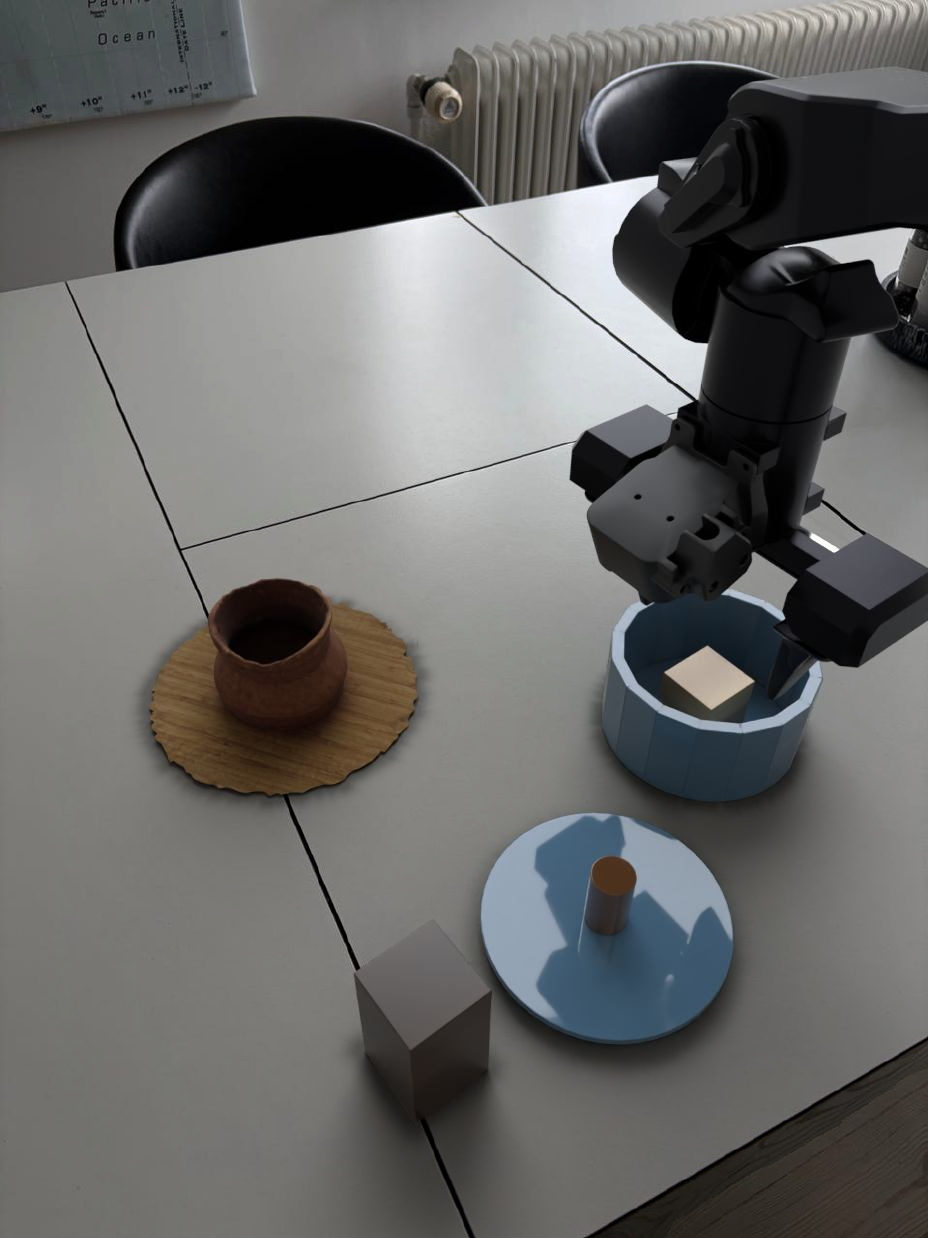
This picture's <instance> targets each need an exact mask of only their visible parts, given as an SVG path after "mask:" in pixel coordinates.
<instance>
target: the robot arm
mask: <svg viewBox="0 0 928 1238" xmlns="http://www.w3.org/2000/svg"><path fill="white" fill-rule="evenodd" d="M726 105H727V106H726V107H727V110H728V113H727V115H726V117H725V120H724V121H722V122H721V124H719V126H717V128H716V129H714V131H713V133H712V135H711V136H710V138H709V139H708V141H707V142H706V143H705V145H704V147H703V149H702V150H701V152H700V153H699V155H698V156H697V157H696V156H695V157H690V158H689V157H688V158H682V159H673V160H666V161H661V163H660V164H659V166H658V176H657V183H656V187H654V188H652V189H651V190H650V191H648V192H647V193H646V194H644V195H643V196H641V198H639V200H638V201H636V203H635V204H634V205H633V206H632V207H631V209H629V211H628V213H627V214H626V216H625V218H624V219H623V221H622V222H621V224H620V227H619V230H618V232H617V233H616V234H615V235H614V238H613V242H612V249H611V253H612V254H611V255H612V256H611V258H612V266H613V269H614V272H615V275H616V277H617V278H618V280H619V282H620V283H621V284H622V285H623V286H624V288H625V289H627V290H628V291H629V292H630V293H632V294H633V295H634V296H635V297H636V298H637V299H638V300H639V301H640V302H642V303H643V304H644V305H645V306H646V307H647V308H648V309H650V311H652V312H653V313H654V314H655V315H656V316H657V317H659V318H660V320H662V321H663V322H664V323H665V324H666V325H668V326H669V327H670V328H671V329H672V330H673V331H674V332H675V333H676V334H678V335H679V336H680V337H681V338H683V339H684V340H687V341H689V342H692V343H695V344H706V345H707V347H706V352H705V358H704V363H703V364H704V365H703V369H702V376H701V381H700V387H699V393H698V399H696V400H693V401H690V402H688V403H686V404H684V405H682V406H679V407H678V408H677V412H676V417H675V418H674V419H673V418H671V417H669V416H667V415H666V414H664V413H663V412H661V411H659V410H657V409H656V408H654V407H652V406H651V405H649V404H647V403H646V404H644V405H641V406H638V407H637V408H634V409H632V410H630V411H627V412H625V413H622V414H620V415H617V416H615V417H613V418H610V419H609V420H606V421H604V422H602V423H599V424H597V425H594V426H592V427H591V428H588V429H586V430H584V431H583V432H581V434H580V435H579V436H578V438H577V439H576V440H575V442H573V445H572V446H571V454H570V455H571V456H570V465H569V466H570V469H569V478H568V479H569V481H570V482H572V483H573V484H574V485H576V486H577V487H579V488H580V489H582V490H583V491H584V497H585V499H586V500H587V502H589V503H591V504H590V505H589V507H588V508H587V510H586V521H587V525H588V527H589V531H590V535H591V538H592V542H593V546H594V549H595V552H596V556H597V559H598V562H599V564H600V565H601V566H602V568H604V569H605V570H606V571H608V572H609V573H613V574H614V575H616V576H617V577H619V579H621V580H623V581H624V582H625V583H627V584H628V585H629V586H631V587H632V588H634V589H635V590H636V591H637V594H638V598H639V601H641V603H643V604H644V605H645V606H648V605H650V604H652V603H659V604H662V603H668V602H671V601H673V600H675V599H676V598H677V599H680V598H683V597H684V596H685V595H687V594H695V595H697V596H698V597H700V598H701V599H703V600H704V601H713V600H716V599H717V598H718V597H719V596H720V595H721V594H722V593H724V592H725V591H726V590H727V589H728V588H729V589H730V588H731V587H732V586H733V585H734V584H735V583H736V582H737V581H738V580H740V579H741V578H742V577H743V576H744V575H745V574H746V573H747V572H748V571H749V569H750V566H751V564H752V563H753V554H754V553H755V554H757V555H758V556H760V557H761V558H762V559H764V560H766V561H768V562H769V563H770V564H772V565H774V566H775V567H777V568H778V569H779V570H782V571H783V572H784V573H785V574H787V575H788V576H790V577H792V578H794V579H795V582H794V583H793V585H792V586H791V587H790V589H789V590H788V591H787V593H786V596H785V600H784V603H783V606H782V610H781V611H782V612H783V615H784V617H785V619H784V620H782V621H781V622H779V623H777V624H776V625H774V626H773V630H774V631H776V632H777V633H779V634H780V635H781V636H783V639H782V642H781V645H780V648H779V651H778V654H777V657H776V660H775V663H774V666H773V669H772V671H771V674H770V677H769V681H768V689H767V697H768V698H769V699H770V700H772V701H774V700H776V699H777V698H779V697H780V696H782V695H783V694H784V693H786V692H787V691H788V690H789V689H790V688H791V687H792V686H793V685H794V684H795V683H796V682H797V681H798V680H799V679H800V678H801V677H802V676H803V675H804V674H805V673H806V672H807V671H808V670H809V669H810V668H811V667H812V666H813V665H814V664H815V663H816V662H817V661H820V663H834V664H835V665H837V666H838V667H843V668H844V667H845V668H854V669H859V668H861V666H864V665H865V664H866V663H867V662H869V661H870V660H872V659H873V658H876V656H878V655H879V654H881V653H883V652H884V651H885V650H887V649H888V648H890V647H891V646H893V645H894V644H896V643H897V642H899V641H900V640H901V639H903V638H904V637H906V636H907V635H909V634H911V633H912V632H913V631H915V630H916V629H918V628H919V627H921V626H922V625H924V624H925V623H927V622H928V566H925V565H924V564H923V563H920V562H919V561H917V560H915V559H913V558H911V557H910V556H908V555H907V554H905V553H903V552H901V551H900V550H898V549H896V548H895V547H893V546H891V545H889V544H888V543H886V542H884V541H883V540H880V539H879V538H878V537H875V536H874V535H872V534H871V533H869V532H866V533H865V534H863V535H862V536H860V537H858V538H857V539H855V540H853V541H852V542H850V543H847V544H846V545H844V546H842V547H841V548H839V547H837V546H835V545H833V544H832V543H829V541H827V540H825V539H823V538H822V537H821V536H819V535H816V534H815V533H813V532H812V531H810V530H808V529H807V528H805V527H804V526H802V525H801V522H802V518H803V517H804V516H805V515H807V514H809V513H811V512H813V511H814V510H816V509H818V508H820V507H821V505H822V501H823V497H824V494H825V490H826V489H825V488H824V487H822V486H820V485H819V484H817V483H815V482H813V478H814V475H815V472H816V467H817V464H818V460H819V457H820V453H821V450H822V446H823V442H826V441H828V440H829V439H831V438H834V437H835V436H837V435H840V434H841V433H842V432H843V428H844V425H845V422H846V418H847V415H848V412H847V411H844V410H842V409H840V408H838V407H836V406H834V402H835V399H836V396H837V391H838V388H839V384H840V380H841V377H842V373H843V370H844V367H845V363H846V359H847V355H848V351H849V348H850V344H851V341H852V338H855V337H859V336H866V335H870V334H871V335H872V334H876V333H881V332H887V331H891V330H894V329H895V328H896V327H897V326H898V325H899V322H900V314H899V311H898V308H897V306H896V303H895V301H894V299H893V297H892V295H891V294H890V293H889V292H888V291H887V290H886V289H885V287H884V286H883V284H882V283H881V282H880V279H879V277H878V275H877V272H876V267H875V263H874V261H873V260H872V259H869V258H866V259H860V260H854V261H849V262H843V263H841V262H840V261H838V260H837V259H835V258H833V257H832V256H830V255H829V254H827V253H825V252H824V251H822V250H821V249H819V248H815V247H812V246H807V245H801V244H805V243H807V244H808V243H813V242H820V241H825V240H831V239H838V238H843V237H850V236H851V237H852V236H857V235H863V234H867V233H868V234H869V233H870V234H871V233H875V232H882V231H887V230H893V229H909V230H920V231H928V72H927V71H923V70H916V69H913V68H912V69H911V68H906V67H901V66H881V67H873V68H864V69H855V70H846V71H837V72H829V73H820V74H819V73H818V74H810V75H801V76H793V77H782V78H774V79H765V80H757V81H756V80H755V81H751V82H748V83H747V84H746V83H745V84H744V85H742V86H740V87H739V88H738V89H737V90H736V91H735V92H733V94H732V95H731V96H730V98H729V100H728V101H727V104H726Z"/></svg>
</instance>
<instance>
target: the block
mask: <svg viewBox="0 0 928 1238" xmlns="http://www.w3.org/2000/svg"><path fill="white" fill-rule="evenodd" d="M754 683H755V681H754V680H753V679H751V678H750V677H749V676H747V675H746V674H745V673H743V672H742V671H741V670H739V669H738V668H737V667H735V666H734V665H733V664H731V663H730V662H729V661H727V660H726V659H725V658H723V657H722V656H721V655H719V654H718V653H717V652H715V651H714V650H713V649H711V648H710V647H709V646H706V647H704V648H703V649H701V650H699V651H698V652H696V653H694V654H693V655H691V656H690V657H688V658H686V659H685V660H683V661H682V662H680V663H678V664H677V665H675V666H673V667H672V668H670V669H669V670H667V671H665V672H664V674H663V679H662V684H661V689H660V694H659V699H658V701H660V702H661V703H662V704H663V705H665V706H668V707H670V708H673V709H675V710H678V711H680V712H683V713H685V714H688V715H690V716H693V717H695V718H698V719H700V720H708V721H718V722H728V723H738V724H740V723H743V721H744V717H745V714H746V710H747V707H748V704H749V700H750V697H751V693H752V690H753V686H754Z"/></svg>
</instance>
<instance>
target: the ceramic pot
mask: <svg viewBox="0 0 928 1238" xmlns="http://www.w3.org/2000/svg"><path fill="white" fill-rule="evenodd" d="M407 649H408V646H407V644H406V643H405V641H404V639H403V638H402V637H398V636H396V635H395V634H394V633H393V630H392V628H389V626H388V625H387V621H386V622H385V621H384V622H383V621H381V619H379V618H378V617H376V616H375V615H373V614H371V613H369V612H364V611H362V610H360V609H353V608H352V607H350V606H348V605H347V604H346V603H342V602H339V603H338V604H337V605H335V604H332V602H331V599H330V597H328V596H326V595H325V594H324V593H323V591H322V590H321V588H320V587H318V586H316V585H313V584H307V583H305V582H303V581H299V580H296V579H295V580H294V579H291V578H282V577H281V578H279V577H275V578H262V579H261V578H260V579H259V580H257V581H255V582H253V583H250V584H247V585H244V586H240V587H237V588H233V589H232V590H230V592H228V593H225V594H223V595H222V596H221V597H220V598H219V600H218V601H217V602H216V603H215V604H214V605H213V607H212V609H211V610H210V611H209V614H208V617H207V625H206V626H204V627H203V628H200V629H198V631H197V632H196V634H195V635H193V636H192V637H190V638H189V639H187V640H185V642H183V643H182V644H181V646H180V647H179V648H178V649H176V650H175V651H174V652H173V653H172V654H171V655H170V656H169V657H168V659H167V663H165V665H164V666H163V667H162V668H160V669H159V671H158V677H157V679H156V681H155V684H154V685H153V688H152V690H151V691H152V692H153V693H152V694H151V695H150V697H152V699H153V700H152V701H151V702H150V704H149V707H148V709H149V710H151V711H152V712H151V714H152V715H150V716H149V719H150V721H152V722H153V723H152V724H151V730H152V731H154V732H155V733H156V734H155V735H154V737H153V738H154V739H156V741H157V742H158V743H160V744H161V745H162V748H163V749H164V751H165V753H166V754H167V758H168V759H167V760H168V761H169V763H172V762H175V763H176V764H177V765H179V766H181V767H183V768H184V771H185V772H186V773H187V774H190V775H191V776H192V778H193V780H196V782H197V781H198V782H200V783H203V784H205V785H211V786H215V787H217V788H218V789H224V788H228V789H231V790H233V791H236V792H239V793H244V794H245V793H246V794H249V793H252V792H263V793H265V794H266V795H268V797H271V796H273V795H275V794H279V795H282V796H283V795H286V794H290V793H299V794H301V793H302V794H303V793H305V792H307V791H309V790H311V789H314V788H317V787H321V786H323V785H328V786H329V785H330V786H332V785H335V784H337V783H341V782H343V781H345V780H346V778H347V777H348V775H349V774H350V773H352V772H353V771H355V770H359V769H360V768H362V767H364V766H366V765H368V764H369V763H371V762H372V761H374V759H375V758H376V757H378V755H380V752H383V753H385V752H387V750H388V749H389V748H390V746H391V745H392V744H393V742H394V741H395V740H397V739H399V734H401V733H402V732H403V731H404V730H406V729H407V728H408V727H409V725H410V721H409V717H410V715H411V714H412V713H413V712H414V710H415V704H414V701H415V700H416V699H417V698H418V696H419V693H418V690H417V688H416V678H417V677H418V672H417V671H416V670H414V667H415V665H414V663H413V662H412V660H413V657H411V656H409V657H407V656H406V655H405V654H406V653H407Z"/></svg>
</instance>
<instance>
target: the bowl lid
mask: <svg viewBox="0 0 928 1238" xmlns="http://www.w3.org/2000/svg"><path fill="white" fill-rule="evenodd" d="M488 873H489V874H488V876H487V878H486V881H485V884H484V887H483V890H482V895H481V900H480V913H479V924H480V936H481V939H482V944H483V948H484V953H485V954H486V957H487V960H488V962H489V965H490V967H491V969H492V970H493V973H494V974H495V976H496V978H497V979H498V982H500V983H501V985H502V986H503V988H504V989H505V990H506V992H507V993H508V994H509V996H511V997H512V998H513V1000H515V1002H516V1003H517V1004H518V1005H519V1006H520V1007H522V1009H524V1010H525V1011H526V1012H528V1014H530V1015H531V1016H533V1017H534V1018H536V1019H537V1020H538V1021H540V1022H542V1023H543V1024H545V1025H546V1026H548V1027H550V1028H552V1029H554V1030H556V1031H558V1032H561V1033H563V1034H565V1035H568V1036H571V1037H574V1038H577V1039H579V1040H584V1041H589V1042H592V1043H593V1042H594V1043H599V1044H609V1045H631V1044H632V1045H633V1044H640V1043H645V1042H649V1041H654V1040H657V1039H660V1038H663V1037H666V1036H669V1035H671V1034H673V1033H675V1032H677V1031H679V1030H681V1029H683V1028H685V1027H686V1026H688V1025H689V1024H690V1023H692V1022H693V1021H695V1020H696V1019H697V1018H698V1017H700V1016H701V1014H702V1013H703V1012H704V1011H706V1010H707V1008H708V1007H709V1006H710V1005H711V1004H712V1002H713V1001H714V1000H715V998H716V997H717V996H718V994H719V992H720V990H721V988H722V987H723V984H724V983H725V980H726V978H727V975H728V972H729V969H730V967H731V963H732V957H733V952H734V925H733V920H732V914H731V911H730V907H729V903H728V902H727V899H726V897H725V895H724V892H723V890H722V887H721V885H720V884H719V882H718V881H717V879H716V877H715V876H714V874H713V873H712V872H711V870H710V869H709V867H708V866H707V865H706V863H705V862H704V861H703V860H702V859H701V858H700V857H699V856H698V855H697V854H696V853H695V852H694V851H693V850H692V849H691V848H690V847H689V846H687V845H686V844H684V842H682V841H680V840H679V839H678V838H676V837H675V836H673V835H672V834H670V833H668V832H666V831H665V830H664V829H661V828H659V827H657V826H655V825H654V824H653V825H652V824H650V823H647V822H645V821H643V820H640V819H636V818H633V817H629V816H626V815H620V814H614V813H606V812H605V813H604V812H583V813H575V814H568V815H563V816H560V817H556V818H552V819H549V820H547V821H544V822H543V823H540V824H538V825H535V826H534V827H533V828H531V829H529V830H527V831H525V832H524V833H523V834H521V835H520V836H518V837H517V838H516V839H514V841H512V842H511V843H510V845H508V846H507V847H506V848H505V849H504V851H502V853H501V855H500V856H499V857H498V858H497V860H496V861H495V862H494V864H493V866H492V868H491V870H490V872H488Z"/></svg>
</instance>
